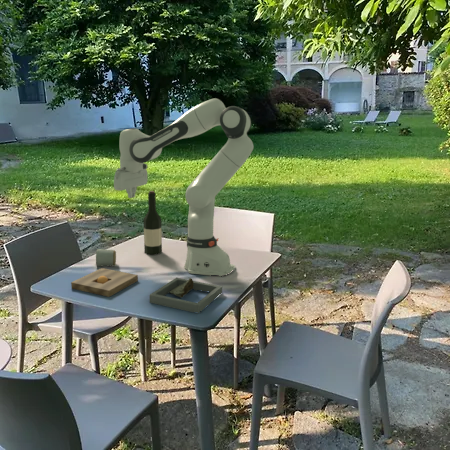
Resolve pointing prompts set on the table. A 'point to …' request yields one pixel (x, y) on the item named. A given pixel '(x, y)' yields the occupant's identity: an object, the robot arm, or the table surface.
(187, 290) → the rock sample
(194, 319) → the table surface
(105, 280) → the rubber ball
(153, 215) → the wine bottle
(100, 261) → the ceramic mug
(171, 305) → the slate dish rim
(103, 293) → the board
